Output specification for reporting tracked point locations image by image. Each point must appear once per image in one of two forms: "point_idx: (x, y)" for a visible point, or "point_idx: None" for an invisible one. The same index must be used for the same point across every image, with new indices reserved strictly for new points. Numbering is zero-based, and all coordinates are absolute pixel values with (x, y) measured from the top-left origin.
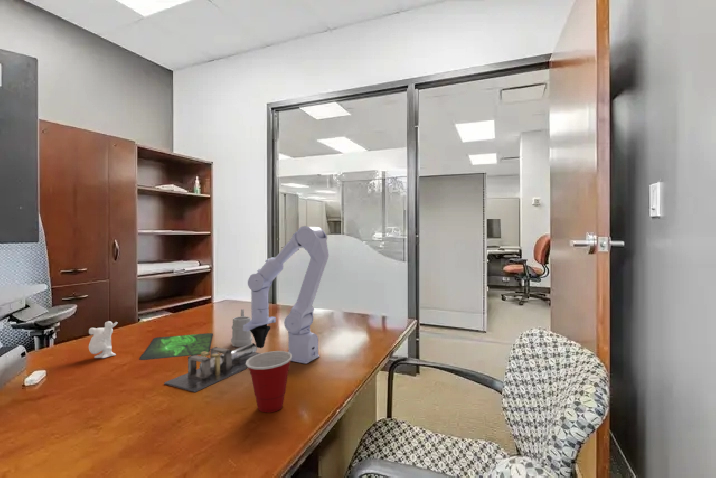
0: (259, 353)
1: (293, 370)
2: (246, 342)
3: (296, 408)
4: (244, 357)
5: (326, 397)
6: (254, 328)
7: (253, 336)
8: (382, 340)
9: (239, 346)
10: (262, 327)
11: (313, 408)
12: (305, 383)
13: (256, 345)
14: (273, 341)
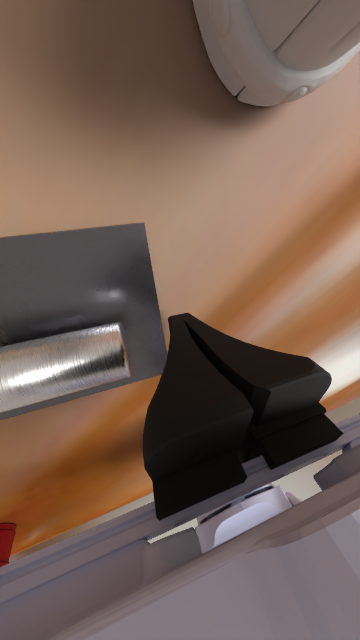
0: (157, 328)
1: (130, 449)
2: (253, 91)
3: (32, 529)
4: (70, 327)
5: (92, 511)
6: (142, 513)
7: (167, 358)
8: (330, 404)
9: (201, 34)
10: (242, 456)
11: (55, 527)
12: (102, 486)
13: (169, 323)
14: (339, 214)
